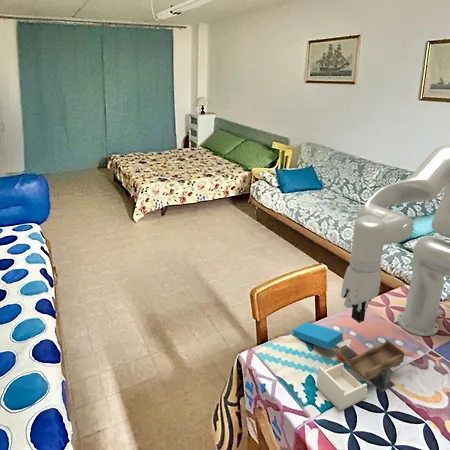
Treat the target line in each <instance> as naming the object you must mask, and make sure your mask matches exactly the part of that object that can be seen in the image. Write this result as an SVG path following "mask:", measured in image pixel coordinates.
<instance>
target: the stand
mask: <svg viewBox="0 0 450 450" xmlns="http://www.w3.org/2000/svg"><path fill="white" fill-rule="evenodd" d="M392 372H393V370H392V368H388V369H386V370H384V372H383V373H381V374H379V375H377V376H375V377H373V378H371V379H369V380H367V381H368V382H369V383H370V384H371V385H373V386H374V387H375V388H376V389H377V390H379V392H381V393H383V392H384V391H387V390H389V389H390V388H393V387H394V386H396V384H395V383H394V382H392V381H391V376H392Z"/></svg>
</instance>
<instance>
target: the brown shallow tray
mask: <svg viewBox="0 0 450 450" xmlns="http://www.w3.org/2000/svg"><path fill="white" fill-rule="evenodd" d="M334 352H335V353H336V355H337V354H338V355H339V356H340V357H342V358H343V359H344V360H345V363H347V364H348V365H349V367H350V368H351V369H352V370H353V371H354V372H355V373H356V374H358V375H359V376H360V377H361V378H363V380H365V381H366V382H367V381H368V380H369V379H371V378H373V377H375V376H377V375H379V374H381V373H382V374H383V372H384V370H386V369H388V368H390V369H392V368H396V367H399V366H400V365H401V364H402V363H403V362H404V360H405V353H406V352H405V351H403V350H402V349H401V348H399V347H398V346H397V345H395V344H394V343H392V342H391V341H389V340H388V339H387V340H385V342H383V343H381V344H379V345H377V346H375V347H373V348H370V349H369V350H367V351H365V352H362V353H361V354H358V353H356V352H355V350H353V349H352V348H351V347H349V345H348V344H344V345H341V346H340V347H338V348H337V349H336V351H334Z"/></svg>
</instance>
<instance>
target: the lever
mask: <svg viewBox="0 0 450 450" xmlns="http://www.w3.org/2000/svg"><path fill="white" fill-rule="evenodd" d="M292 332H293V337H294V338H297V339H300V340H302V341H304V342H305V341H306V342H307V343H310V344H313V345H316V346H317V347H321V348H322V349H327V350H332V351H334V352H335V351H336V349H338V348H337V347H336V346H337V345H338V344H340V343H342V342H343V341H344V336H343V332H340V331H337V330H334V329H330V328H327V327H325V326H321V325H318V324H315V323H312V322H309V321H306V322H304V323H302V324H301V325H299V326H297V327H296V328H293V329H292ZM336 357H337V359H338V361H340V362H341V363H344V362H345V363H346V361H345V360H344V359H343V358H342V357H340V356H339V355H338V354H337V353H336Z"/></svg>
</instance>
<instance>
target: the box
mask: <svg viewBox="0 0 450 450" xmlns="http://www.w3.org/2000/svg"><path fill="white" fill-rule="evenodd" d="M344 365H345V364H344V362H339V363H338V364H336V365H333V366H331V367H328V368H326V369H324V368H323V367H322V366H319V367H318V371H317V380H316V388H317V389H318V391H320V393H322V394H323V396H325V398H326V399H327V400H328V401H329V402H330V403H331V404H333V406H334V407H335V408H336V409H337V410H338V411H339V412H341V411H344V410H345V409H347V408H350V407H351V406H354V405H355V404H357V403H360V402H362V401H363V400H365V399H367V396H368V389H369V388H367V387H368V384H367V383H361V382H360V381H359V380H357V379H356V377H354V376H353V375H352V374H351V373H350V372H349V371H347V369H346V368H345V367H344ZM339 384H340V385H339Z"/></svg>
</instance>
